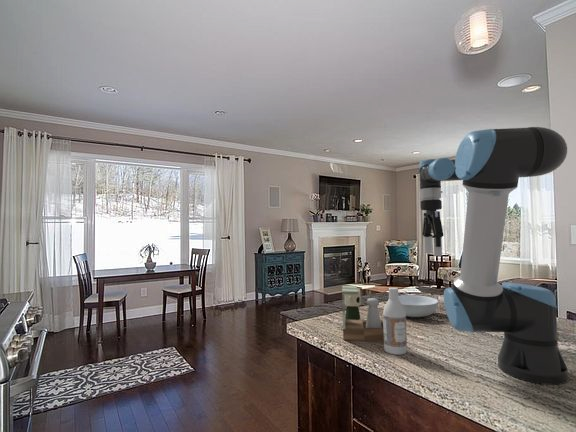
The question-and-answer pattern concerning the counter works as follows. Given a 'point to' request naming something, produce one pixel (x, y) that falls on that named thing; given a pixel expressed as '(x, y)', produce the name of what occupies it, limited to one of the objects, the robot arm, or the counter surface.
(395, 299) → the bath foam
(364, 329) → the socket station
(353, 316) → the character mug
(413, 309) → the serving bowl
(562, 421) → the counter surface
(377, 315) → the salt shaker
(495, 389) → the counter surface
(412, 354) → the counter surface
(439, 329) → the counter surface
